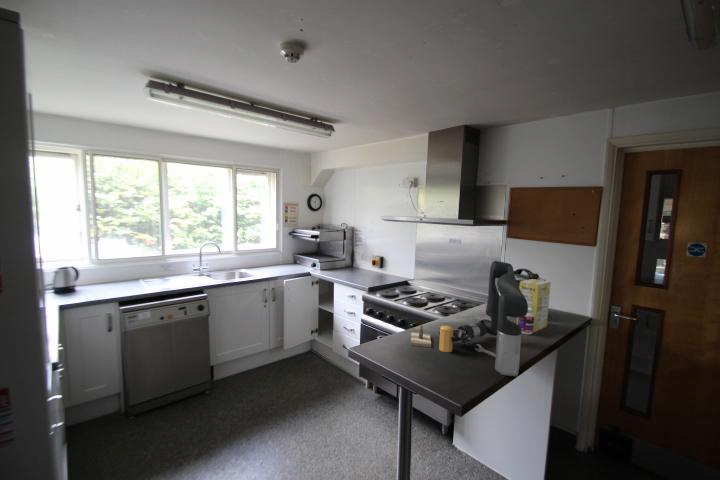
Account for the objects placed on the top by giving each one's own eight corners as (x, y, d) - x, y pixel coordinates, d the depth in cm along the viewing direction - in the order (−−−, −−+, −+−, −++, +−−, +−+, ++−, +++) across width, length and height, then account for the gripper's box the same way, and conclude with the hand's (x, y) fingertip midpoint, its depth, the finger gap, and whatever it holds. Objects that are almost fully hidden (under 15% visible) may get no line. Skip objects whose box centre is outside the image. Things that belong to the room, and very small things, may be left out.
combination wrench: (515, 359, 140) (476, 342, 156) (513, 360, 139) (474, 343, 155) (514, 367, 140) (475, 349, 156) (513, 368, 139) (474, 350, 156)
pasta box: (529, 321, 204) (532, 278, 202) (546, 326, 196) (550, 281, 194) (516, 326, 192) (519, 281, 190) (534, 332, 184) (538, 285, 182)
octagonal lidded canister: (452, 352, 151) (453, 330, 150) (439, 351, 152) (440, 329, 152) (451, 347, 157) (452, 326, 156) (438, 346, 158) (440, 325, 157)
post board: (430, 347, 157) (431, 330, 156) (410, 345, 159) (411, 328, 158) (429, 336, 171) (430, 321, 170) (411, 335, 172) (411, 320, 172)
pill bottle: (525, 335, 177) (527, 310, 176) (514, 330, 185) (515, 306, 184) (536, 334, 180) (538, 309, 179) (524, 329, 188) (525, 305, 187)
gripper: (458, 320, 168) (435, 324, 160) (480, 329, 156) (457, 334, 148) (457, 334, 169) (435, 339, 161) (479, 343, 156) (456, 349, 148)
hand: (445, 336), depth 154 cm, fingers open, 8 cm apart
